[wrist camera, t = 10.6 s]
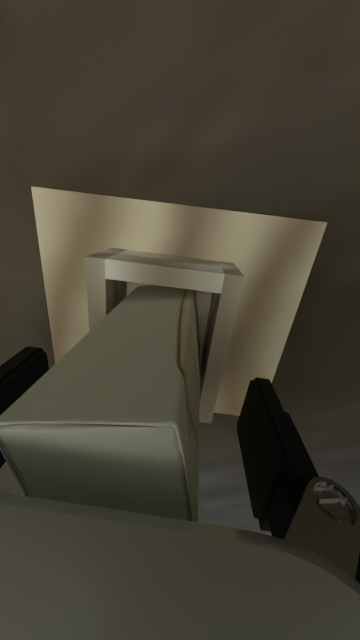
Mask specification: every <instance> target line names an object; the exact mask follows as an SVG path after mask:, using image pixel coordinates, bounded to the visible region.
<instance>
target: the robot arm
mask: <svg viewBox="0 0 360 640" xmlns="http://www.w3.org/2000/svg"><path fill="white" fill-rule="evenodd" d="M48 370H49V366H48V360H47V354H46V352H44V351H43V349H42V348H37V347H26V348H24V349H23V350H21V351H20V352H19V353H17V354H16V355H15V356H13V357H12V358H11V359H9V360H8V361H7V362H5V363H4V364H2V365H1V366H0V415H1V414H2V413H4V412H5V411H6V410H7V409H8V408H9V407H10V406H11V405H12V404H13V403H14V402H15V401H16V400H18V399H19V398H20V397H21V396H22V395H23V394H24V393H25V392H26V391H27V390H28V389H29V388H30V387H31V386H32V385H33V384H34V383H35V382H36V381H37V380H39V379H40V378H41V377H42V376H43V375H44V374H45V373H46V372H47V371H48ZM237 432H238V438H239V443H240V448H241V453H242V459H243V464H244V469H245V475H246V480H247V485H248V490H249V496H250V501H251V506H252V511H253V515H254V517H255V518H258V519H259V524H260V529H261V530H264V531H271V534H272V536H269V535H265V534H260V533H256V532H252V531H246V530H241V529H235V528H229V527H223V526H218V525H212V524H206V523H200V522H194V521H187V520H181V519H174V518H168V517H161V516H155V515H148V514H142V513H135V512H129V511H122V510H116V509H109V508H102V507H95V506H89V505H82V504H75V503H68V502H62V501H55V500H48V499H41V498H34V497H27V496H20V495H13V494H6V493H0V640H360V507H359V505H358V504H357V502H356V500H355V499H354V498H353V497H352V496H351V494H350V493H349V492H348V491H347V490H346V489H344V488H343V487H342V486H341V485H340V484H338V483H336V482H334V481H333V480H331V479H328V478H325V477H319V476H318V474H317V472H316V469H315V467H314V465H313V463H312V461H311V459H310V457H309V455H308V453H307V450H306V448H305V446H304V444H303V442H302V440H301V438H300V436H299V434H298V432H297V429H296V427H295V425H294V423H293V421H292V419H291V417H290V415H289V414H288V413H287V412H284V410H283V408H282V405H281V403H280V401H279V399H278V397H277V394H276V392H275V390H274V388H273V386H272V384H271V381H270V380H269V379H266V378H258V377H256V378H255V379H254V380H250V383H249V386H248V389H247V393H246V396H245V399H244V403H243V406H242V409H241V413H240V416H239V420H238V423H237ZM5 462H6V460H5V458H4V457H3V454H2V452H1V451H0V468H1V467H2V466H3V464H4V463H5Z"/></svg>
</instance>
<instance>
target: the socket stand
mask: <svg viewBox="0 0 360 640" xmlns="http://www.w3.org/2000/svg"><path fill="white" fill-rule="evenodd" d="M31 189H32V196H33V203H34V211H35V218H36V225H37V233H38V240H39V248H40V255H41V262H42V270H43V277H44V284H45V292H46V299H47V306H48V314H49V321H50V328H51V336H52V343H53V351H54V358H55V364H56V363H57V362H58V361H59V360H60V359H61V358H62V357H63V356H64V355H65V354H66V353H67V352H69V351H70V350H71V349H72V348H73V347H74V346H75V345H76V344H77V343H78V342H79V341H80V340H81V339H82V338H83V337H84V336H85V335H86V334H87V333H89V332H90V331H91V330H92V329H93V328H94V327H95V326H96V325H97V324H98V323H99V322H100V321H101V320H102V319H103V318H104V317H105V316H106V315H108V314H109V313H110V312H111V311H112V310H113V309H114V308H115V307H116V306H117V305H118V304H119V303H120V302H121V301H122V300H123V299H125V298H126V297H127V296H128V295H129V294H130V293H131V292H132V291H133V290H134V289H135V288H136V287H138V286H146V285H158V286H166V287H174V288H182V289H189V290H196V301H197V313H198V327H199V345H200V396H199V422H204V423H211V422H212V417H213V413H221V414H228V415H235V416H240V413H241V409H242V406H243V403H244V399H245V396H246V393H247V389H248V386H249V383H250V380H254V379H255V378H256V377H258V378H266V379H269V380H270V381H271V383H272V381H273V378H274V375H275V372H276V369H277V366H278V363H279V360H280V358H281V355H282V352H283V349H284V346H285V343H286V340H287V337H288V335H289V332H290V329H291V326H292V323H293V320H294V317H295V314H296V311H297V309H298V306H299V303H300V300H301V297H302V294H303V291H304V288H305V286H306V283H307V280H308V277H309V274H310V271H311V268H312V265H313V263H314V260H315V257H316V254H317V251H318V248H319V245H320V242H321V239H322V237H323V234H324V231H325V228H326V225H327V222H319V221H311V220H302V219H294V218H286V217H278V216H269V215H261V214H253V213H245V212H236V211H228V210H220V209H212V208H203V207H195V206H187V205H179V204H170V203H162V202H154V201H146V200H138V199H129V198H121V197H113V196H105V195H96V194H88V193H80V192H72V191H63V190H55V189H47V188H39V187H31Z"/></svg>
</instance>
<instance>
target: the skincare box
mask: <svg viewBox="0 0 360 640" xmlns="http://www.w3.org/2000/svg"><path fill="white" fill-rule="evenodd" d="M199 396H200V345H199V327H198V313H197V301H196V290H189V289H182V288H174V287H166V286H158V285H146V286H138V287H136V288H135V289H134V290H133V291H132V292H131V293H130V294H129V295H128V296H127V297H126V298H125V299H123V300H122V301H121V302H120V303H119V304H118V305H117V306H116V307H115V308H114V309H113V310H112V311H111V312H110V313H109V314H108V315H106V316H105V317H104V318H103V319H102V320H101V321H100V322H99V323H98V324H97V325H96V326H95V327H94V328H93V329H92V330H91V331H90V332H89V333H87V334H86V335H85V336H84V337H83V338H82V339H81V340H80V341H79V342H78V343H77V344H76V345H75V346H74V347H73V348H72V349H71V350H70V351H69V352H67V353H66V354H65V355H64V356H63V357H62V358H61V359H60V360H59V361H58V362H57V363H56V364H55V365H54V366H53V367H52V368H51V369H49V370H48V371H47V372H46V373H45V374H44V375H43V376H42V377H41V378H40V379H39V380H37V381H36V382H35V383H34V384H33V385H32V386H31V387H30V388H29V389H28V390H27V391H26V392H25V393H24V394H23V395H22V396H21V397H20V398H19V399H18V400H16V401H15V402H14V403H13V404H12V405H11V406H10V407H9V408H8V409H7V410H6V411H5V412H4V413H2V414H1V415H0V451H1V452H2V454H3V457H4V458H5V460H6V462H7V463H8V465H9V467H10V468H11V470H12V473H13V475H14V476H15V477H16V479H17V481H18V483H19V485H20V486H21V488H22V489H23V492H24V494H25V496H27V497H34V498H41V499H48V500H55V501H62V502H68V503H75V504H82V505H89V506H95V507H102V508H109V509H116V510H122V511H129V512H135V513H142V514H148V515H155V516H161V517H168V518H174V519H181V520H187V521H194V522H198V482H199Z"/></svg>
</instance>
